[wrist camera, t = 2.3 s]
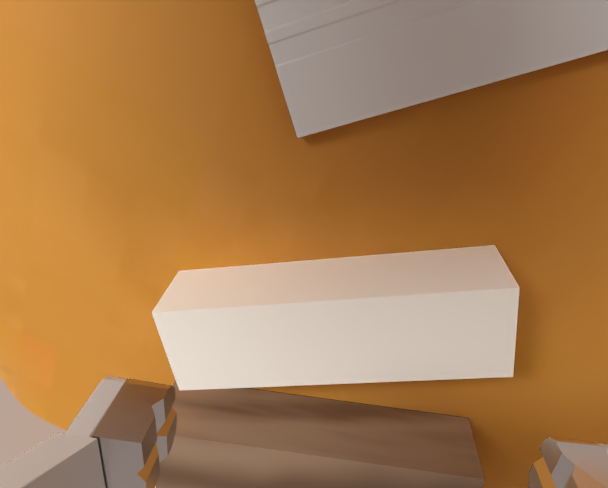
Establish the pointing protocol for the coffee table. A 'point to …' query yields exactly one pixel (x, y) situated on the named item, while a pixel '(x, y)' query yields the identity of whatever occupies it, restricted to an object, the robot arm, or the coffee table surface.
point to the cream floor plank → (342, 320)
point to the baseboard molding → (415, 50)
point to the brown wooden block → (313, 444)
